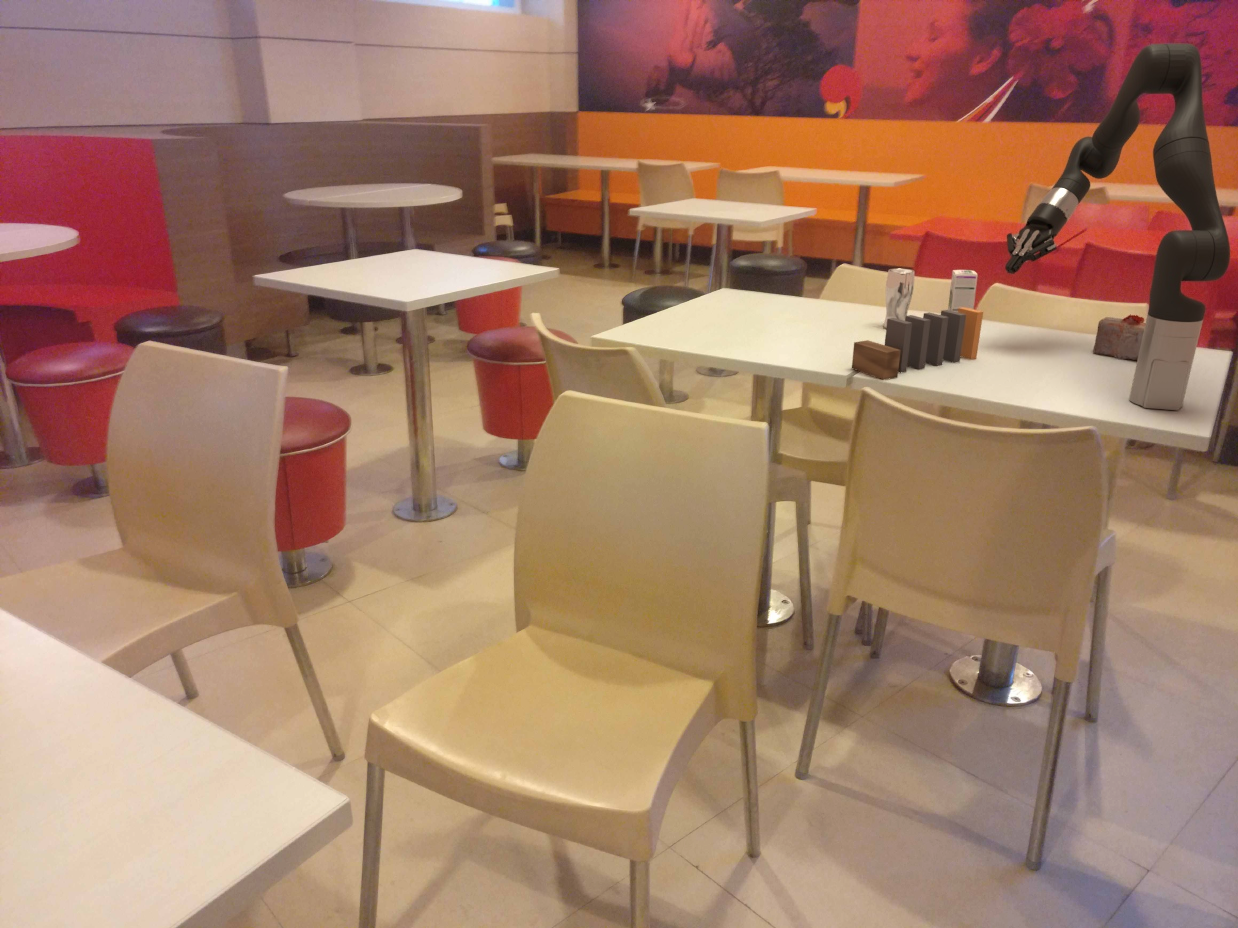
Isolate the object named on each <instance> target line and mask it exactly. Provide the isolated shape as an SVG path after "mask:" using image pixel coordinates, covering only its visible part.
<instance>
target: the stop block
mask: <svg viewBox="0 0 1238 928" xmlns="http://www.w3.org/2000/svg"><path fill="white" fill-rule="evenodd" d="M900 351H901V350H898V349H895V348H892V347H888V346H885V344H882V343H879V342H875V341H872V340H870V339H869V340H868V339H867V340H860V341H854V342H853V351H852V360H851V361H852V362H851V369H852V368H854V369H857V370H858V371H857V370H856V371H857V372H860V371H861V373H863V372H864V373H863V374H866V375H869V376H872V377H874V376H875V378H876V379H877V378H878V379H880V378H881V379H880V380H883V379H885V380H890V379H894V377H896V378H898V374H899V372H898V368H899V360H900ZM854 369H853V370H854ZM889 378H890V379H889Z"/></svg>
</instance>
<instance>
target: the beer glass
mask: <svg viewBox="0 0 1238 928" xmlns="http://www.w3.org/2000/svg"><path fill="white" fill-rule="evenodd" d="M914 288H915V270H913V269H909V268H890V269H888V272H887V277H886V282H885V292H884V293H885V307H886V308H885V309H886V311H885V313H886V314H885V319H884V321H883V322H884V323H883V326H882V327H883V329H885V330H886V327H887V319H889V318H896V319H900V320H904V321H905V318H906V316H908V311H909V308H910V305H911V302H912V298H913V295H914Z"/></svg>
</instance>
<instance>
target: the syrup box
mask: <svg viewBox="0 0 1238 928" xmlns="http://www.w3.org/2000/svg"><path fill="white" fill-rule="evenodd" d="M978 275H979V274H978V273H977V272H976V271H975V270H973V269H972V270H971V269H953V270H952V273H951V281H950V289H949V297H948V306H947V310H950V311H954V312H958V308H962V307H965V308H970V309H974V310H975V308H974V307H975V300H976V292H977V283H978V278H979V277H978Z"/></svg>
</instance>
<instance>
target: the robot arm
mask: <svg viewBox="0 0 1238 928" xmlns="http://www.w3.org/2000/svg"><path fill="white" fill-rule="evenodd" d="M1202 71H1203V70H1202V60H1201V55H1200V50H1199V49H1198V47H1197V46H1195V44H1192V43H1181V42H1180V43H1174V42H1173V43H1152V44H1148V45H1146V46H1144V47H1143V48H1142V49H1141V50H1140V51H1139V52H1138V53H1137V55H1136V56H1135V59H1134V60H1133V62H1132V64H1131V66H1130V67H1129V70H1128V71H1127V73H1126V76H1125V78H1124V79H1123V82H1122V84H1121V86H1120V89H1119V90H1118V93H1117V94H1116V97H1115V99H1114V101H1113V103H1112V105H1111V108H1110V109H1109V110H1108V112H1107V114H1106V115H1105V116H1104V118H1103V119H1102V121H1101V122H1100V123H1099V124H1098V126H1097V127H1096V128H1095V130H1094V132H1093V134H1092V135H1091V136H1084V137H1082V138H1080V139H1079V140H1077V142H1076V143H1074V145H1073V147H1072V148H1071V151H1070V153H1069V155H1068V159H1067V161H1066V164H1065V168H1064V170H1063V171H1062V174H1061V175H1060V176H1059V178H1058V180H1057V181H1056V182H1055V184H1054V185H1053V187H1052V188H1051V189H1050V190H1049V191H1048V193H1046V194H1045V195H1044V196H1043V198H1042V199H1041V201H1040V202H1039V204H1038V205H1037V206H1036V207H1035V209H1034V210H1033V211H1032V213H1031V214H1030V216H1029V217H1028V218H1027V221H1026V223H1025V225H1024V226H1023V227H1022V228H1021V229H1020V230H1019V231H1018V233H1014V234H1012V232H1009V233H1008V234H1006V244H1007V252H1008V254H1009V256H1010V259H1008V261H1007V262H1006V263H1005V265H1004V267H1005V271H1006V273H1007V274H1012V275H1015V273H1017V272H1018V271H1019V270H1020V269H1021V268H1022V266H1023V265H1024V264H1025V263H1028V261H1031V262H1035V261H1038V260H1039V259H1040V258H1043V257H1045V256H1047V255H1049V254H1050V253H1052V252H1053V251H1056V250H1057V249H1058V246H1057V244H1056V242H1055V241H1054V239H1055V237H1057V236H1058V234H1059V233H1060V232H1061V230H1062V228H1064V226H1065V225H1066V224H1067V223H1068V221H1069V220H1070V218H1071V217H1072V216H1073V214H1074V213H1075V211H1076V209H1077V207H1078V206H1079V205H1080V203H1081V202H1082V200H1083V199H1084V197H1085V196H1086V195H1087V193H1088V192H1089V190H1090V188H1091V181H1090V179H1089V178H1088V176H1086V174H1087V175H1089V176H1090V177H1092V178H1095V179H1097V180H1099V179H1101V180H1102V179H1104V178H1107V177H1109V176H1110V175H1111V174H1112V173H1114V171H1115V169H1116V167H1117V166H1118V164H1119V162H1120V158H1121V155H1122V150H1123V148H1124V146H1125V144H1126V143H1127V142H1128V141H1129V140H1130V138H1131V137H1132V136H1133V135H1134V133H1135V132H1136V131H1137V129H1138V127H1139V124H1140V121H1141V111H1140V107H1139V103H1138V99H1139V97H1141V96H1142V95H1143V94H1150V95H1160V94H1161V95H1169V94H1170V95H1172V96H1173V99H1174V111H1173V113H1172V116H1171V118H1170V119H1169V121H1168V122H1167V123H1166V125H1165V126H1164V127H1163V128H1162V131H1161V132H1160V134H1159V135H1158V137H1157V139H1156V141H1155V142H1154V146H1153V150H1152V157H1153V166H1154V173H1155V174H1154V175H1155V179H1156V181H1157V183H1158V185H1159V187H1160V189H1161V190H1162V191H1163V192H1164V194H1165V195H1166V196H1167V197H1168V198H1169V199H1170V200H1171V201H1172V202H1173V203H1174V204H1175V205H1176V206H1177V208H1179V209H1180V210H1181V212H1183V214H1184V215H1185V217H1186V218H1187V220H1188V222H1189V224H1190V227H1191V230H1189V229H1188V230H1180V229H1179V230H1177V229H1176V230H1170V231H1169V232H1167V233H1166V234H1165V235H1164V236H1163V237H1162V238H1161V240H1160V242H1159V244H1158V247H1157V251H1156V255H1155V260H1154V267H1153V273H1152V274H1153V275H1152V279H1151V284H1150V285H1151V286H1150V290H1149V291H1150V292H1149V297H1148V298H1149V302H1148V303H1149V305H1148V311H1147V314H1146V316H1147V317H1146V319H1145V323H1146V324H1145V328H1144V333H1143V337H1142V342H1141V346H1140V351H1139V355H1138V360H1136V365H1135V370H1134V374H1133V379H1132V385H1131V389H1130V393H1129V398H1128V399H1129V401H1130V402H1131V403H1133V404H1135V405H1138V406H1141V407H1142V408H1144V409H1154V410H1155V409H1156V410H1169V411H1179V410H1180V408H1182V407H1183V405H1184V400H1185V396H1186V392H1187V389H1188V383H1189V379H1190V376H1191V371H1192V367H1193V362H1194V358H1195V355H1196V350H1197V346H1198V342H1199V338H1200V333H1201V329H1202V326H1203V323H1204V319H1205V316H1206V315H1205V314H1206V308H1207V307H1206V305H1205V303H1203V302H1202V301H1199V300H1197V299H1194V298H1192V297H1189V296H1187V295H1185V294H1184V293H1183V292H1182V289H1181V287H1182V282H1213V281H1217V280H1219V279H1221V278H1222V277H1223V276H1225V274H1226V272H1227V271H1228V268H1229V265H1230V261H1231V260H1230V259H1231V246H1230V240H1229V235H1228V231H1227V228H1226V225H1225V221H1224V217H1223V214H1222V210H1221V207H1220V203H1219V199H1218V194H1217V189H1216V184H1215V177H1214V171H1213V161H1212V154H1211V153H1212V152H1211V147H1210V141H1209V137H1208V132H1207V125H1206V119H1205V111H1204V110H1205V109H1204V102H1203V101H1204V100H1203V99H1204V97H1203V76H1202V75H1203V73H1202ZM1084 173H1085V174H1084Z"/></svg>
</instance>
